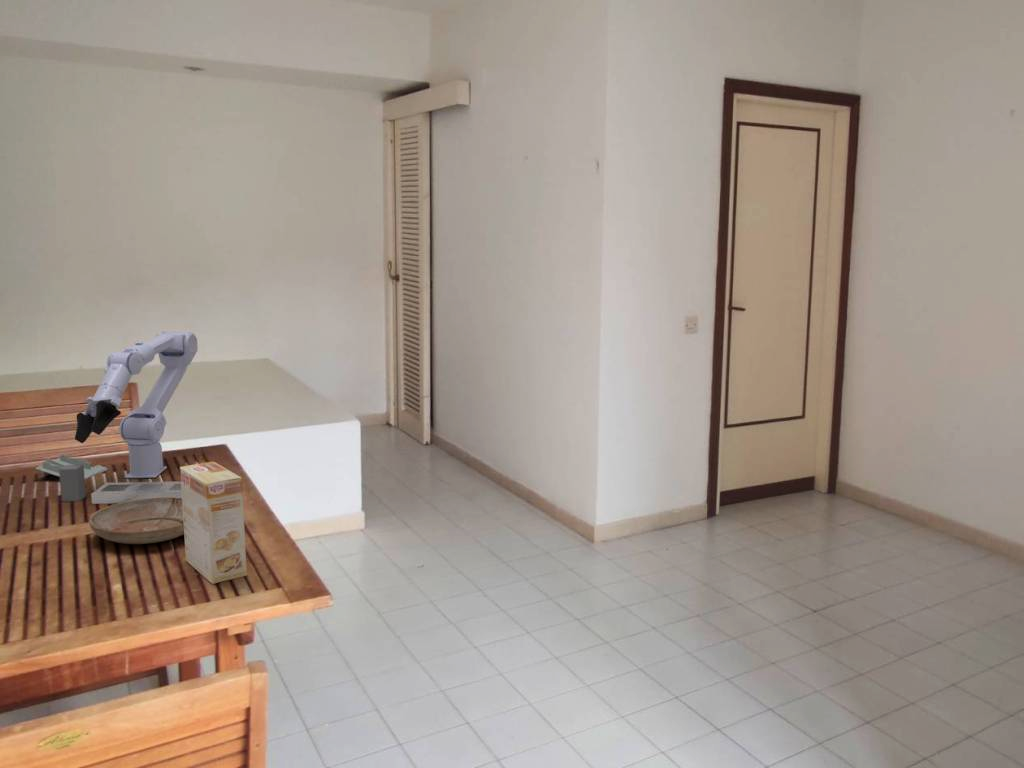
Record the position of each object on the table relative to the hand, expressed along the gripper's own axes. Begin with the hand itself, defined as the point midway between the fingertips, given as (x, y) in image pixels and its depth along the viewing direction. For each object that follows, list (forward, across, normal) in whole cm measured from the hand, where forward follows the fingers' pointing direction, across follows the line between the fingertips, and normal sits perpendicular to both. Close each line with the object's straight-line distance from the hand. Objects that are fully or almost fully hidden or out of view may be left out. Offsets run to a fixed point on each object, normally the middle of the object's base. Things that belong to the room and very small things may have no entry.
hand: (87, 436), depth 201 cm
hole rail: (+7, +3, +19) cm, 20 cm away
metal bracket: (-2, -29, +10) cm, 31 cm away
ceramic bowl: (+25, +23, +14) cm, 37 cm away
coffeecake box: (+36, +48, +17) cm, 63 cm away
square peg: (+10, -11, +8) cm, 17 cm away
